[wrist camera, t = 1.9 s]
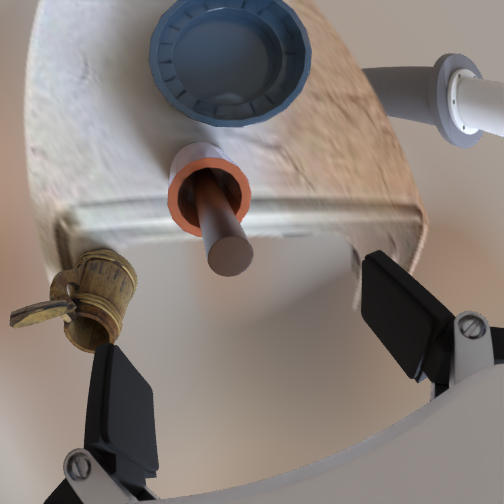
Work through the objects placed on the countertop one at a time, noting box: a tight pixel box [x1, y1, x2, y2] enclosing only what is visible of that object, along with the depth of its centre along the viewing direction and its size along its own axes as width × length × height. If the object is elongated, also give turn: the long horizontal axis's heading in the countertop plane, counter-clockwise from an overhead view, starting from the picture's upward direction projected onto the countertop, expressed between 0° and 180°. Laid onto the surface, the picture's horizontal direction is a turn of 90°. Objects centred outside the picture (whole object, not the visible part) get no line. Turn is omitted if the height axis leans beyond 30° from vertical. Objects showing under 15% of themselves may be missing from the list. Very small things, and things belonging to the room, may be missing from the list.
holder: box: [167, 142, 251, 237], centre depth 28 cm, size 7×7×11 cm
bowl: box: [149, 0, 312, 127], centre depth 24 cm, size 15×15×6 cm
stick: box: [190, 167, 253, 277], centre depth 23 cm, size 2×2×20 cm
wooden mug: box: [10, 249, 137, 354], centre depth 27 cm, size 9×14×18 cm, turn 20°
